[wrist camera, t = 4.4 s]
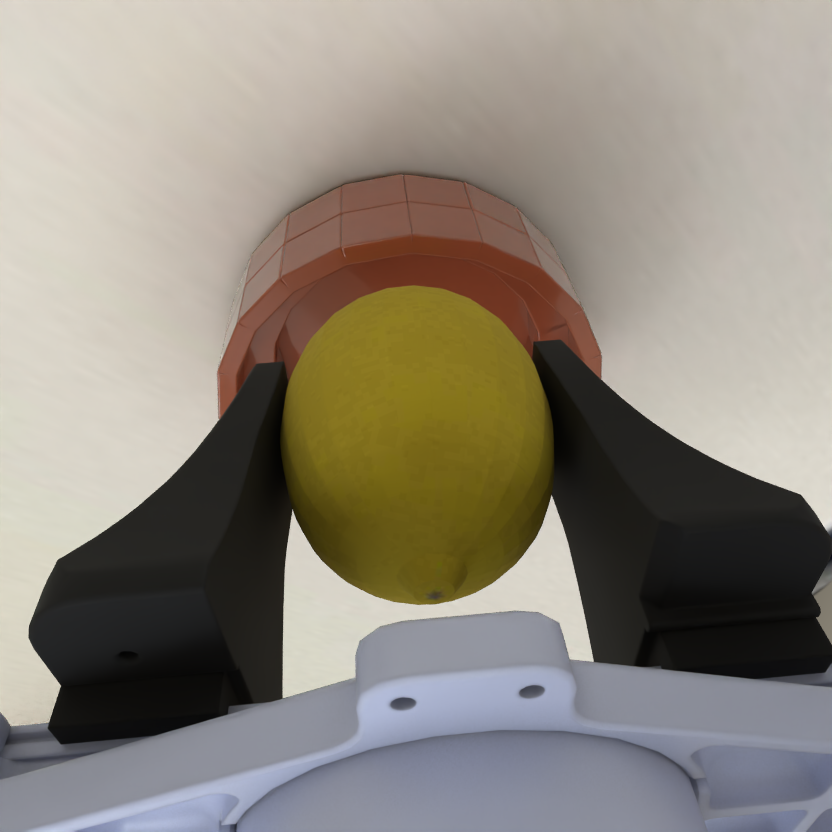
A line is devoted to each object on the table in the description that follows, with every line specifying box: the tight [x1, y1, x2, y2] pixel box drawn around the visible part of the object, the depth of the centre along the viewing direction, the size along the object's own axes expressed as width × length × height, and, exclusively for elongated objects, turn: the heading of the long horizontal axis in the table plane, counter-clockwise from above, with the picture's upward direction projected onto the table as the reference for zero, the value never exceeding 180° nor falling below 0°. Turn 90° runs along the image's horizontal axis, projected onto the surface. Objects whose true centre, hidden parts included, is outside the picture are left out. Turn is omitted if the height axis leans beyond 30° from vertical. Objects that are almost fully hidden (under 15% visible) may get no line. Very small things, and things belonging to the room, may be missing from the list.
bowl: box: [217, 174, 602, 419], centre depth 24 cm, size 12×12×5 cm
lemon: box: [280, 285, 554, 605], centre depth 15 cm, size 6×6×8 cm
